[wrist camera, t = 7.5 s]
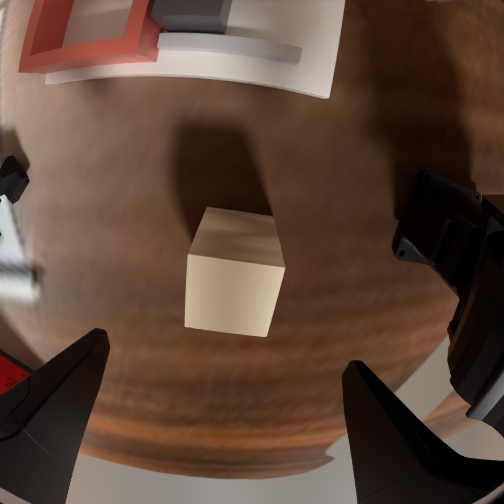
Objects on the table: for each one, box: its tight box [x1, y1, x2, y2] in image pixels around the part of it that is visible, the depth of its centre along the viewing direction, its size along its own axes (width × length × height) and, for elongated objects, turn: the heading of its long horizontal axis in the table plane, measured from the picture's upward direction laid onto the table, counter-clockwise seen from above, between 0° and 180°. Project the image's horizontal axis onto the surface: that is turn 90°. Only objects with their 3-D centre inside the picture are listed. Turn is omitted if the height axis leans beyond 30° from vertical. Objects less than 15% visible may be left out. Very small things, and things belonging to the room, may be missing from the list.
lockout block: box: [185, 207, 285, 337], centre depth 15 cm, size 4×4×6 cm
